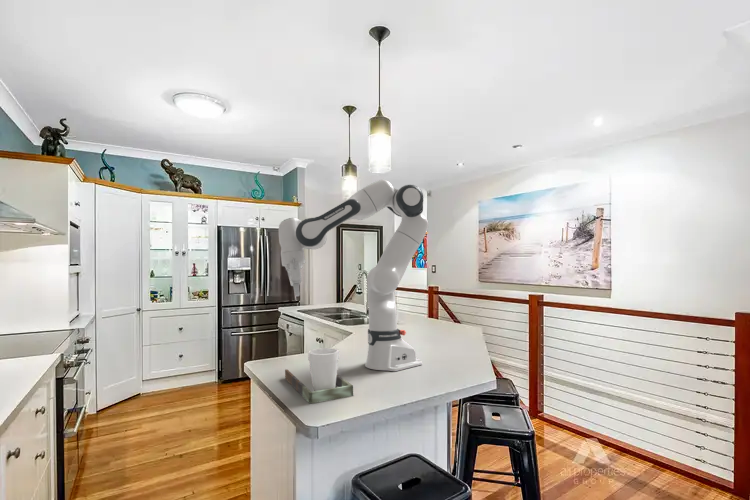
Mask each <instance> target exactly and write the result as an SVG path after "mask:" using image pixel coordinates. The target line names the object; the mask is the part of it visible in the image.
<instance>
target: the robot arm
mask: <svg viewBox="0 0 750 500" xmlns="http://www.w3.org/2000/svg"><path fill="white" fill-rule="evenodd" d="M384 208H387V209H389V210H390V211H391V212H392V213H393V214H394V215H396V216H397V217H401V221H400V224H399V225H398V227H397V229H396V230H395V232H394V233H393V235H392V236H391V238H390V240H389V241H388V243H387V245H386V247H385V248H384V251H383V253H382V255H381V256H380V258H379V259H378V262H377V264H376V265H375V266H373V267H372V268H371V269H369V271H368V273H367V276H366V287H367V288H366V291H367V304H368V329H367V344H368V346H367V347H368V348H367V349H368V350H367V356H366V361H365V365H364V366H365V367H366V368H367V369H371V370H376V371H387V372H388V371H391V372H397V371H402V370H406V369H411V368H414V367H418V366H422V365H423V361H422V360H421V359H419V358H417V354H416V350H415V348H414V347H413V346H412V345H411V344H409V342H407V341H406V340H404V339H403V338H402V336H405V335H406V334H407V331H406V330H404V329H399V328H398V315H397V314H398V312H397V304H396V296H395V294H396V293H395V291H396V289H397V288H398V287H399V284H400V282H401V281H402V278H403V276H404V275H405V273H406V270H407V269H408V266H409V263H410V262H411V260H412V259H413V257H414V255H415V254H416V252H417V251H418V249H419V247H420V246H421V244H422V242H423V241H424V238H425V236H426V233H427V232H428V228H429V221H428V219H427V217H426V216H425V215H424V214H422V213H423V210H424V194H423V191H422V190H421V189H420V187H419V186H416V185H414V184H405V185H403V186H401V187H400V188H398V189H397V188H396V187H394V185H392V183H391V182H390V181H388V180H386V179H379V180H377V181H376V180H375V182H373V183H370V184H367V185H366V186H364V187H362V188H361V189H359V190H358V191H357V192H355V193H354V194H352V195H351V196H350V197H348V198H347V199H345V200H344V201H343V202H342V203H340V204H338V205H337V206H335V207H334V208H332V209H330V210H328V211H327V212H324V213H323V214H321V215H319V216H315V217H309V218H305V219H302V220H301V219H299V218H297V217H289V218H286V219H283V221H281V222H280V223H279V225H278V244H279V247H280V260H281V267H284V268H285V271H286V272H287V276H288V279H289V283H290V286H291V287H292V288H293V291H294V292H293V293H294V296H295V298H296V297H300V294H301V293H300V292H301V291H300V285H301V283H302V281H303V280H302V271H301V269H303V265H305V264H306V257H305V249H306V250H319V249H321V248H322V247H324V246H325V244H326V242H327V234H328V232H329V231H331V230H333V229H335V228H336V227H338V226H340V225H341V224H343V223H345V222H347V221H349V220H350V221H351V220H358V221H363V220H365V219H368V218H370V217H371V216H374V215H375V214H377V213H378V212H380V211H382V210H383V209H384Z"/></svg>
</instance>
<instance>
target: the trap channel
mask: <svg viewBox="0 0 750 500" xmlns="http://www.w3.org/2000/svg"><path fill="white" fill-rule="evenodd" d="M284 374H285V375H284V378H285V380H286V381H287V382H288V383H289V384H290V385H291V386H292V387H293V388H294V389H295V391H297V392H298V393H299V395H301V396H302V398H303V399H304V400H305V401H306V402H307V403H308V404H309V405H311V404H315V403H316V404H317V403H321V402H326V401H331V400H332V401H333V400H337V399H342V398H347V397H348V398H349V397H352V396H354V385H353V384H351V383H350V382H349V381H347V380H346V379H344V378H343V377H341V376H340V375H338V374H337V376H336V385H335V386H337V387H335V388H331V389H325V390H319V391H314V392H313V391H311V390H310V389H309V388H308V387H307V386H306V385H305V384H304V383H303V382H302V381H301V380H299V379H298V378H297V376H295V375H294V374H293V373H292V372H291V371H290V370H289V369H284Z"/></svg>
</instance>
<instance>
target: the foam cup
mask: <svg viewBox="0 0 750 500" xmlns="http://www.w3.org/2000/svg"><path fill="white" fill-rule="evenodd" d="M307 354H308V361H309V368H310V376H311V385H312V392H314V391H319V390H325V389H331V388H336V386H337V385H336V376H337V375H338V366H339V360H340V350H339V349H338V348H332V347H319V348H314V349H310V350H308V353H307Z"/></svg>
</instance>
